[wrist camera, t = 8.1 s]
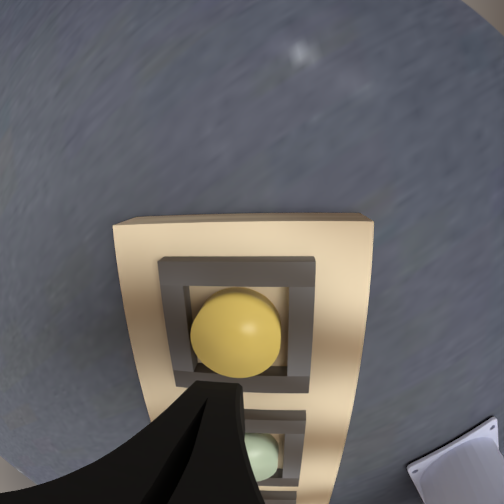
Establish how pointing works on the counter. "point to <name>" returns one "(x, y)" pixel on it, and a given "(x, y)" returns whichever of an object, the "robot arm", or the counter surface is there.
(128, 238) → the button console
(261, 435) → the sage button
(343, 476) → the counter surface
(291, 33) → the counter surface
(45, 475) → the counter surface
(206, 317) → the mustard button
